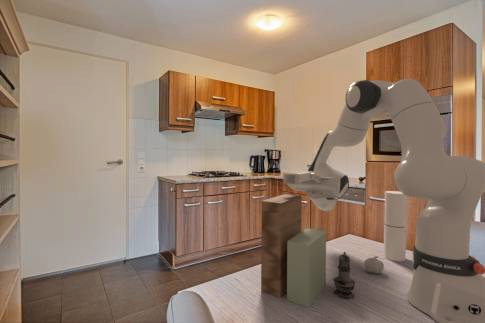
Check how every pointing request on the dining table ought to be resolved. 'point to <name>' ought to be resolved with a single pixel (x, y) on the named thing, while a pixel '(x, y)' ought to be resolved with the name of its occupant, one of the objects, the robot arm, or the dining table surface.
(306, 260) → the olive grey block
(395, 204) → the cylindrical container
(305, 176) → the beige rectangular bar
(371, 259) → the garlic
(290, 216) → the tall stand
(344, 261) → the stone chess bishop
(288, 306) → the dining table surface
